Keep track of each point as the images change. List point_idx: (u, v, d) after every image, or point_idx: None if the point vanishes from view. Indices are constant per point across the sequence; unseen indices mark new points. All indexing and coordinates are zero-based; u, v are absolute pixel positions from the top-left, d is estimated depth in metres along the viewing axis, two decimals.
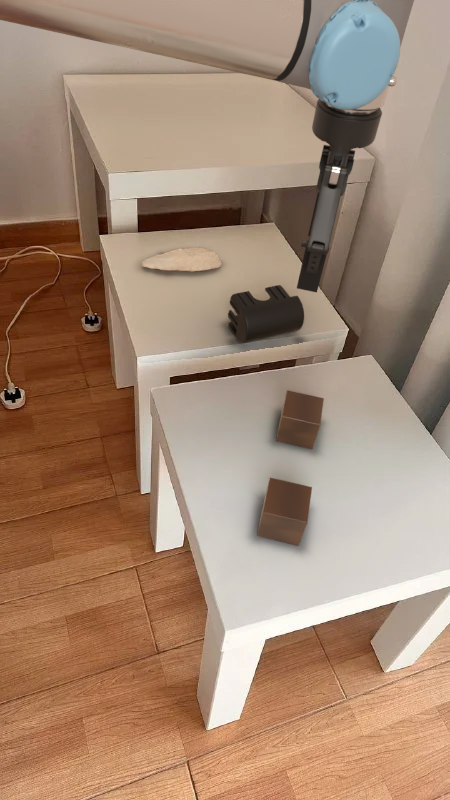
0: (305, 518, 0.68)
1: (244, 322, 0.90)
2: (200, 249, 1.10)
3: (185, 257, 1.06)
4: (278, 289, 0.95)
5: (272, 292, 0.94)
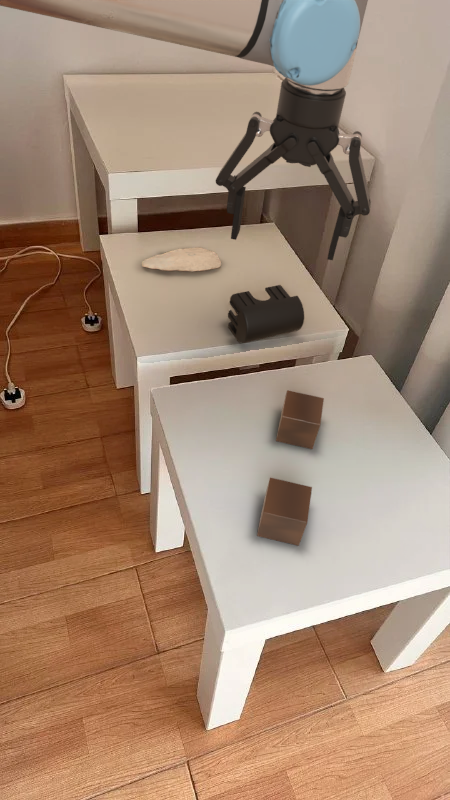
0: (305, 518, 0.68)
1: (244, 322, 0.90)
2: (200, 249, 1.10)
3: (185, 257, 1.06)
4: (278, 289, 0.95)
5: (272, 292, 0.94)
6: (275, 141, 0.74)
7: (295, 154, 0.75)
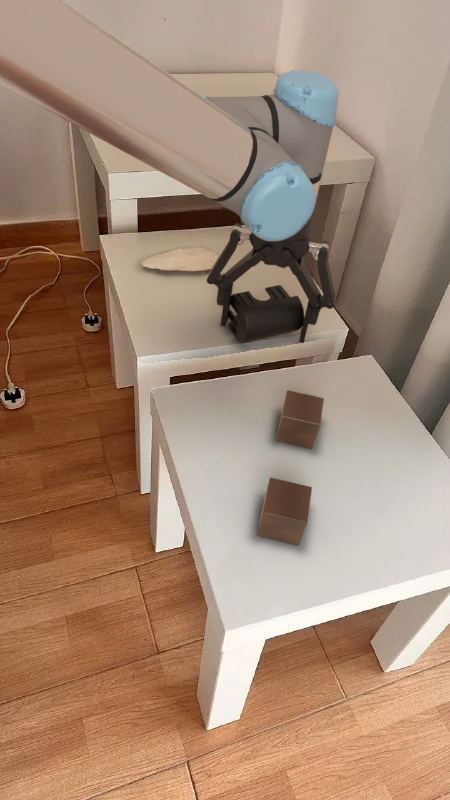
0: (305, 518, 0.68)
1: (244, 322, 0.90)
2: (200, 249, 1.10)
3: (185, 257, 1.06)
4: (278, 289, 0.95)
5: (272, 292, 0.94)
6: (254, 248, 0.85)
7: (271, 258, 0.86)
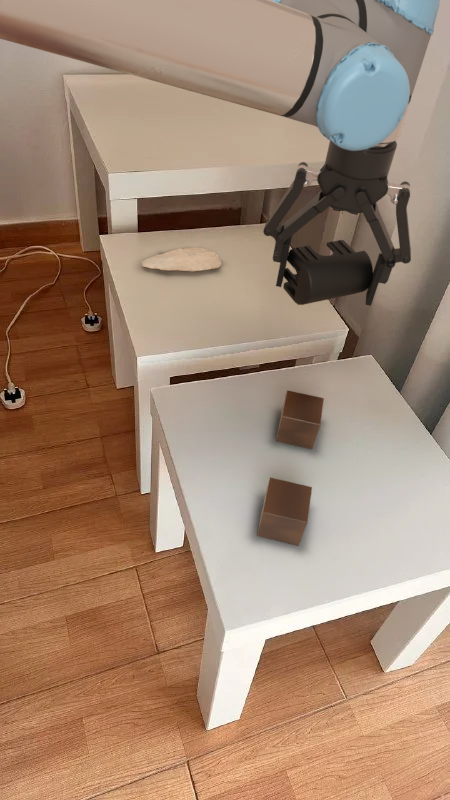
0: (305, 518, 0.68)
1: (307, 279, 0.78)
2: (200, 249, 1.10)
3: (185, 257, 1.06)
4: (342, 244, 0.83)
5: (335, 247, 0.83)
6: (323, 190, 0.74)
7: (342, 202, 0.74)
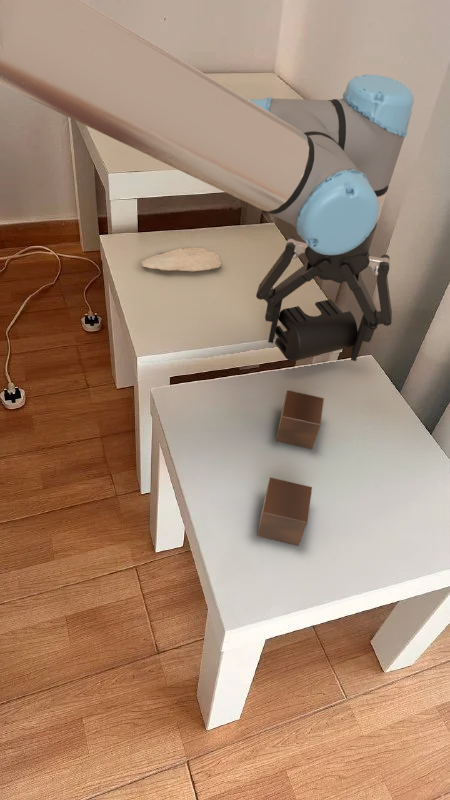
0: (305, 518, 0.68)
1: (296, 340, 0.85)
2: (200, 249, 1.10)
3: (185, 257, 1.06)
4: (329, 304, 0.90)
5: (323, 307, 0.89)
6: (310, 262, 0.80)
7: (328, 272, 0.81)
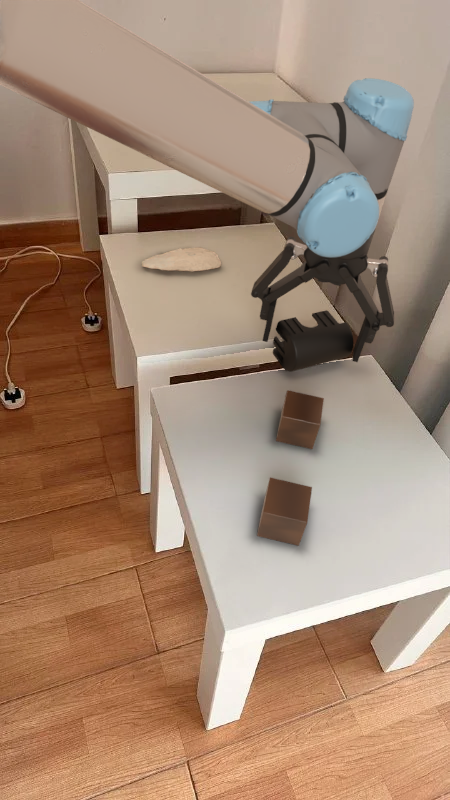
0: (305, 518, 0.68)
1: (293, 351, 0.87)
2: (200, 249, 1.10)
3: (185, 257, 1.06)
4: (325, 315, 0.92)
5: (320, 318, 0.91)
6: (308, 264, 0.81)
7: (326, 275, 0.81)
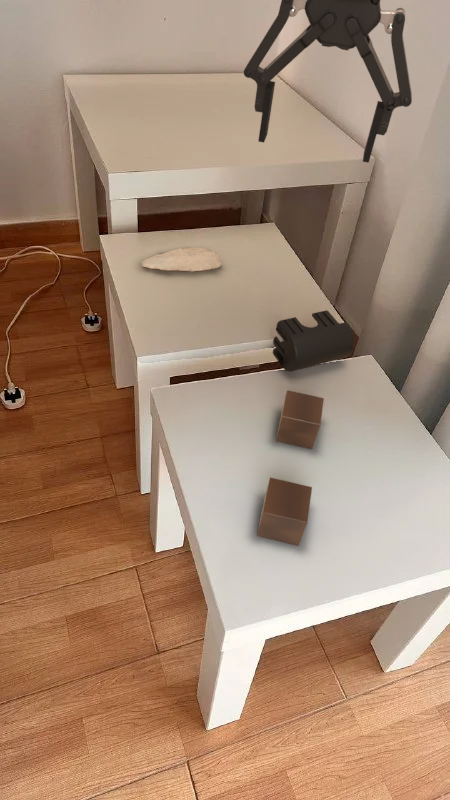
0: (305, 518, 0.68)
1: (293, 351, 0.87)
2: (200, 249, 1.10)
3: (185, 257, 1.06)
4: (326, 315, 0.92)
5: (320, 318, 0.91)
6: (310, 21, 0.68)
7: (332, 35, 0.69)
